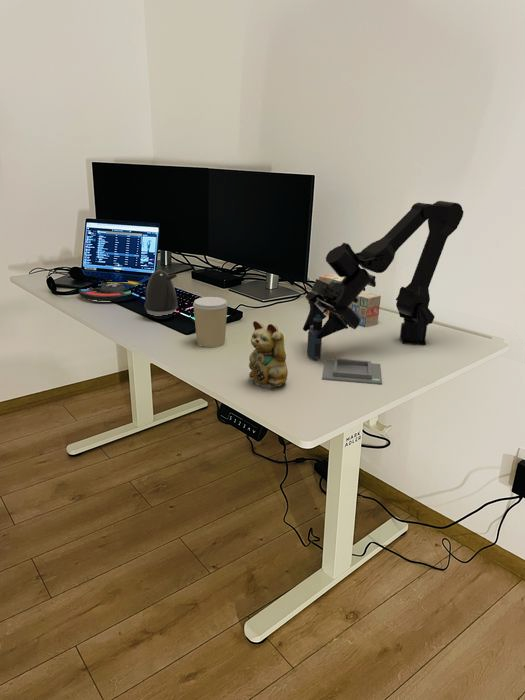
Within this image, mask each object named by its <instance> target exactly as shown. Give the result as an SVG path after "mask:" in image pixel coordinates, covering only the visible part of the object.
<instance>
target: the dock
mask: <svg viewBox="0 0 525 700" xmlns="http://www.w3.org/2000/svg"><path fill="white" fill-rule="evenodd" d="M321 380H325V381H336V382H346V383H348V382H349V383H357V384H358V383H359V384H360V383H361V384H373V385H383V377H382V366H381V364H380V363H372V360H363V359H362V360H361V359H350V358H349V359H346V358H335V357H334V359H324V364H323V370H322V377H321Z"/></svg>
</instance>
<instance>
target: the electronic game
mask: <svg viewBox="0 0 525 700" xmlns="http://www.w3.org/2000/svg"><path fill="white" fill-rule="evenodd" d="M127 281H128V282H107V283H101V284H98V286H102V287H101V288H100V292H93V291H94V290H95V288H92V287H90V288H87V289H80V288H79V290H78V291H79V296H81V297H82V298H84V299H86V300H87V299H90V300H97V301H109V300H111V299H114V298H116V297H121V296H127V295H130V294H132V293H131V292H130V290H126V288H125V286H123V285H122V284H126V285H129V286H131V287H136V286H138V285H144V284H143V283H141V282H138V281H135V280H127ZM125 290H126V291H125ZM124 291H125V292H124ZM133 293H134V292H133ZM90 300H89V301H90Z"/></svg>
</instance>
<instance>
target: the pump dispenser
mask: <svg viewBox="0 0 525 700" xmlns="http://www.w3.org/2000/svg"><path fill="white" fill-rule="evenodd" d="M175 278H177V273H173V274H168V273H167V272H166V271H164V270H161V269H158V270H156V271H153V273H152V274H151V275H150V278H149V279H148V283H147V286H146V288H145V295H144V309H145V310H146V313H147V314H150V315H154V316H162V315H168V314H172V313H173V312H175V310H176V309H178V305H179V302H178V296H177V293H176V292H177V291H176V289H175V286H174V283H173V281H172V280H173V279H175ZM176 311H177V310H176Z"/></svg>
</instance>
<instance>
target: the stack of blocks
mask: <svg viewBox="0 0 525 700" xmlns="http://www.w3.org/2000/svg"><path fill="white" fill-rule="evenodd" d="M344 278H345V277H339V276H338V274H337V273H336V274H335V273H328V274H323V275H319V276H318V280H320V281H323V282H325V283H327V284H330V283H331V282H335V283H336V282H337V283H340V282H341V281H342V280H343V279H344ZM320 295H321V294H320ZM321 296H322V295H321ZM381 298H382V296H381V294H380V295H379V294H377V293H373V292H370V291H366V290H363V291H362V292H361V293H360V294H359V295H358V296H357V299H358V302H357V303H354V302H352V303H351V305H350V306H349V308H351V309H352V310H353V311H354V313H355V314H356V315H357V316H358V317H359V318H360V324H359V326H361V327H364V328H367V327H371V326H374V325H377V324H379V314H380V305H381ZM325 300H326V299H325ZM329 308H330V307H329ZM325 315H326V316H327V315H328V316H329V311H327V312H325Z"/></svg>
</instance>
